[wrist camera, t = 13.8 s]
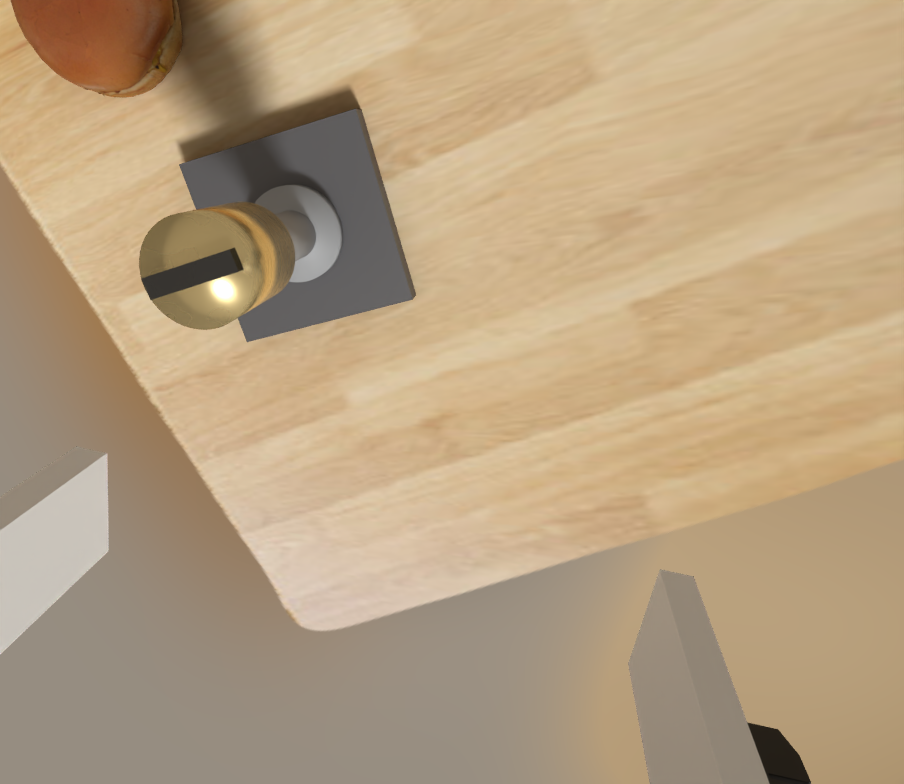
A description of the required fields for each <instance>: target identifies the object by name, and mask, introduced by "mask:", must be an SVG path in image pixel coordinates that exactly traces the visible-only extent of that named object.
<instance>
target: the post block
mask: <svg viewBox="0 0 904 784" xmlns="http://www.w3.org/2000/svg"><path fill="white" fill-rule="evenodd" d="M179 166H180V168H181V171H182V173H183V176H184V179H185V181H186V184H187V187H188V189H189V192H190V194H191V197H192V200H193V202H194V205H195V207H196V210H198V209H203V208H208V207H213V206H218V205H223V204H228V203H233V202H250V203H254V204H258V205H260V206H262V207H265V208H266V209H268V210H270V211H271V212H272V213H274V214H275V215H276V216H277V217H278V218H279V219H280V220H281V221H282V222H283V224H284V225H285V226H286V228H287V230H288V231H289V233H290V235H291V238H292V241H293V244H294V248H295V266H294V271H293V274H292V276H291V278H290V280H289V282H288V284H287V285H286V286H285V287H284V288H283V290H282V291H280V292H279V293H278V294H277V295H275V296H273V297H272V298H270V299H268V300H267V301H265V302H263V303H262V304H260V305H258V306H257V307H255V308H253V309H252V310H250V311H248V312H247V313H245V314H243V315H242V316H240V317H238V320H239V322H240V325H241V328H242V330H243V333H244V336H245V338H246V341H247V342H249V341H253V340H257V339H261V338H265V337H269V336H273V335H276V334H280V333H284V332H288V331H292V330H296V329H300V328H304V327H308V326H311V325H315V324H319V323H323V322H327V321H331V320H335V319H339V318H343V317H346V316H350V315H354V314H358V313H362V312H366V311H370V310H374V309H378V308H381V307H385V306H389V305H393V304H397V303H401V302H405V301H409V300H413V298H414V297H415V296H416V293H415V289H414V286H413V283H412V279H411V276H410V273H409V269H408V266H407V262H406V259H405V256H404V252H403V249H402V245H401V242H400V239H399V235H398V232H397V228H396V225H395V222H394V218H393V215H392V212H391V208H390V205H389V201H388V198H387V195H386V191H385V188H384V184H383V181H382V178H381V174H380V171H379V168H378V164H377V161H376V157H375V154H374V151H373V147H372V144H371V140H370V137H369V134H368V130H367V127H366V124H365V120H364V117H363V113H362V110H360V109H353V110H350V111H347V112H343V113H340V114H337V115H334V116H331V117H328V118H324V119H321V120H318V121H315V122H312V123H309V124H305V125H302V126H299V127H296V128H293V129H290V130H287V131H283V132H280V133H277V134H274V135H271V136H268V137H264V138H261V139H258V140H255V141H252V142H249V143H245V144H242V145H239V146H236V147H233V148H230V149H227V150H223V151H220V152H217V153H214V154H211V155H208V156H204V157H201V158H198V159H195V160H192V161H189V162H185V163H182V164H179Z"/></svg>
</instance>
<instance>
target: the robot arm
mask: <svg viewBox="0 0 904 784" xmlns="http://www.w3.org/2000/svg"><path fill="white" fill-rule="evenodd" d="M107 475H108V472H107V453H105V452H100V451H95V450H90V449H85V448H81V447H75V448H73V449H72V450H70V451H69V452H67V453H66V454H64V455H63V456H61V457H60V458H58V459H57V460H55V461H54V462H52V463H51V464H49V465H48V466H46V467H45V468H43V469H42V470H40V471H38V472H37V473H36V474H34V475H32V476H31V477H29V478H28V479H26V480H25V481H24V482H22V483H20V484H19V485H18V486H16V487H14V488H13V489H11V490H10V491H8V492H7V493H5V494H4V495H2V496H1V497H0V654H1V653H2V652H3V651H4V650H5V649H6V648H7V647H8V646H9V645H10V644H12V643H13V642H14V641H15V640H16V639H17V638H18V637H19V636H20V635H21V634H22V633H23V632H24V631H25V630H26V629H27V628H28V627H29V626H30V625H31V624H32V623H34V622H35V620H37V619H38V618H39V617H40V616H41V615H42V614H43V613H44V612H45V611H46V610H47V609H48V608H49V607H50V606H51V605H52V604H53V603H54V602H55V601H57V599H59V598H60V597H61V596H62V595H63V594H64V593H65V592H66V591H67V590H68V589H69V588H70V587H71V586H72V585H73V584H74V583H75V582H76V581H77V580H79V579H80V578H81V577H82V576H83V575H84V574H85V573H86V572H87V571H88V570H89V569H90V568H91V567H92V566H93V565H94V564H95V563H96V562H97V561H98V560H99V559H100V558H101V557H103V556H104V555H105V554H106V553H107V552H108V551H109V547H108V546H109V545H108V476H107ZM628 665H629V670H630V676H631V681H632V687H633V693H634V698H635V703H636V709H637V715H638V720H639V726H640V732H641V737H642V742H643V748H644V754H645V759H646V764H647V770H648V776H649V781H650V784H811V781H810V779H809V776H808V774H807V772H806V770H805V767H804V765H803V763H802V760H801V758H800V756H799V754H798V753H797V752H796V751H795V749H794V748H793V747H792V746H791V745H790V743H789V742H788V741H787V740H786V739H785V737H784V736H783V735H782V734H781V732H780V731H779V730H778V729H774V728H769V727H765V726H760V725H755V724H751V723H747V721H746V718H745V715H744V713H743V710H742V707H741V704H740V702H739V699H738V696H737V694H736V691H735V688H734V686H733V683H732V680H731V677H730V675H729V672H728V669H727V666H726V664H725V661H724V658H723V656H722V653H721V650H720V648H719V645H718V642H717V639H716V637H715V634H714V631H713V628H712V626H711V623H710V620H709V617H708V615H707V612H706V609H705V606H704V604H703V601H702V598H701V595H700V593H699V590H698V587H697V585H696V582H695V579H694V576H689V575H684V574H679V573H674V572H670V571H665V570H660V571H659V574H658V577H657V580H656V583H655V586H654V589H653V592H652V595H651V598H650V601H649V604H648V607H647V610H646V613H645V615H644V618H643V622H642V625H641V628H640V630H639V633H638V636H637V639H636V643H635V645H634V648H633V651H632V654H631V657H630V660H629V663H628Z"/></svg>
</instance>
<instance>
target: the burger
mask: <svg viewBox="0 0 904 784" xmlns="http://www.w3.org/2000/svg"><path fill="white" fill-rule="evenodd" d="M11 3H12V6H13V9H14V12H15V16H16V19H17V21H18V24H19V26H20V28H21V30H22V32H23V34H24V36H25V38H26V39H27V40H28V42H29V43H30V44H31V45H32V47H33V48H34V50H35V51H36V52H37V54H38V55H39V56H40V58H41V59H42V60H43V61H44V62H45V63H46V64H47V65H48V66H49V67H50V68H51V69H52V70H54V71H55V72H56V73H57V74H58V75H60V76H61V77H63V78H64V79H66V80H68V81H70V82H72V83H73V84H76V85H78V86H80V87H83V88H84V89H87V90H92V91H95V92H98V93H99V94H103V95H104V96H105V95H107V96H111V97H133V96H135V95H139V94H142V93H145V92H147V91H149V90H151V89H153V88H154V87H155V86H156V85H157V84H158V83H160V82H161V81H162V80H163V79H164V77H165V76H166V74H167V73H169V71H170V70H171V68H172V66H173V65H174V63H175V60H176V59H177V57H178V55H179V53H180V50H181V47H182V27H181V20H180V13H179V7H178V3H177V0H11Z"/></svg>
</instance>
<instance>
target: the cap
mask: <svg viewBox="0 0 904 784" xmlns="http://www.w3.org/2000/svg"><path fill="white" fill-rule="evenodd" d="M294 266H295V248H294V244H293V241H292V238H291V235H290V233H289V231H288V230H287V228H286V226H285V225H284V224H283V222H282V221H281V220H280V219H279V218H278V217H277V216H276V215H275V214H274V213H272V212H271V211H270V210H268V209H266V208H265V207H262V206H260V205H258V204H254V203H250V202H233V203H228V204H223V205H218V206H213V207H208V208H203V209H198V210H193V211H188V212H183V213H178V214H174V215H170V216H168V217H166V218H164V219H162V220H161V221H159V222H158V223H157V224H155V225H154V226H153V227H152V228H151V230H150V231H149V232H148V234H147V235H146V237H145V239H144V241H143V244H142V247H141V251H140V258H139V268H140V275H141V280H142V282H143V285H144V287H145V290H146V292H147V293H148V295H149V297H150V299H151V300H152V301H153V303H154V304H155V305H156V306H157V308H158V309H159V310H160V311H161V312H162V313H164V314H165V315H166V316H167V317H169V318H170V319H172V320H173V321H175V322H177V323H179V324H181V325H183V326H186V327H189V328H194V329H203V330H207V329H215V328H219V327H222V326H224V325H226V324H228V323H230V322H232V321H233V320H235V319H237V318H238V317H240V316H242V315H243V314H245V313H247V312H248V311H250V310H252V309H253V308H255V307H257V306H258V305H260V304H262V303H263V302H265V301H267V300H268V299H270V298H272V297H273V296H275V295H277V294H278V293H279V292H280V291H282V290H283V288H284V287H285V286H286V285H287V284H288V282H289V280H290V278H291V276H292V274H293V271H294Z"/></svg>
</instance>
